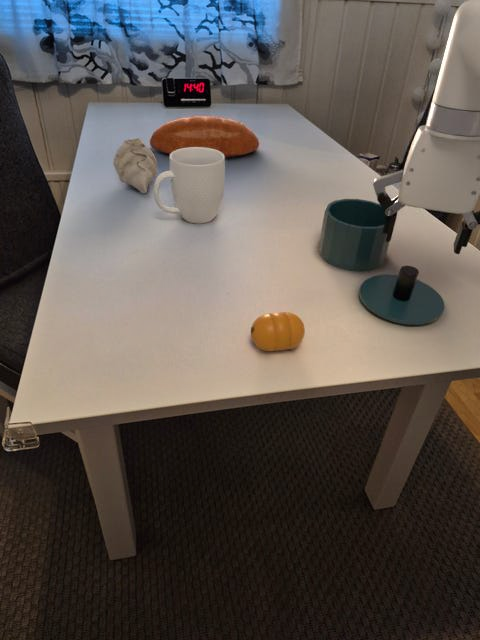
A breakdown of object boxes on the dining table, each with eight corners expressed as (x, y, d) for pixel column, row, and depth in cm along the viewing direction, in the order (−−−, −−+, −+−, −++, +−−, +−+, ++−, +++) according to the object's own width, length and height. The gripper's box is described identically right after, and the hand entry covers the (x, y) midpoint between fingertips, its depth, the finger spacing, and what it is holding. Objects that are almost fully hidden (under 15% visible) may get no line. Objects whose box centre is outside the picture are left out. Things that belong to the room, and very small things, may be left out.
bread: (264, 162, 124) (266, 129, 119) (148, 162, 121) (145, 128, 115) (253, 138, 142) (255, 108, 136) (152, 137, 138) (149, 106, 133)
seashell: (164, 174, 114) (161, 134, 108) (152, 198, 102) (148, 154, 96) (124, 172, 114) (119, 132, 108) (108, 195, 103) (101, 151, 96)
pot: (387, 245, 88) (398, 205, 83) (380, 277, 79) (392, 234, 74) (325, 234, 92) (332, 194, 86) (312, 262, 82) (319, 220, 77)
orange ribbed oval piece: (295, 331, 66) (300, 303, 63) (307, 354, 62) (312, 325, 59) (245, 336, 65) (247, 308, 62) (254, 361, 61) (256, 331, 58)
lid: (442, 290, 77) (454, 258, 73) (442, 336, 67) (456, 303, 63) (364, 273, 80) (371, 242, 76) (352, 315, 70) (360, 282, 66)
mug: (165, 236, 88) (160, 170, 80) (148, 213, 96) (142, 152, 88) (232, 223, 94) (234, 161, 86) (212, 203, 101) (211, 144, 93)
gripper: (530, 121, 56) (482, 243, 67) (390, 107, 61) (365, 224, 71) (541, 136, 51) (486, 267, 61) (385, 119, 55) (359, 244, 65)
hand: (421, 243), depth 66 cm, fingers open, 9 cm apart
